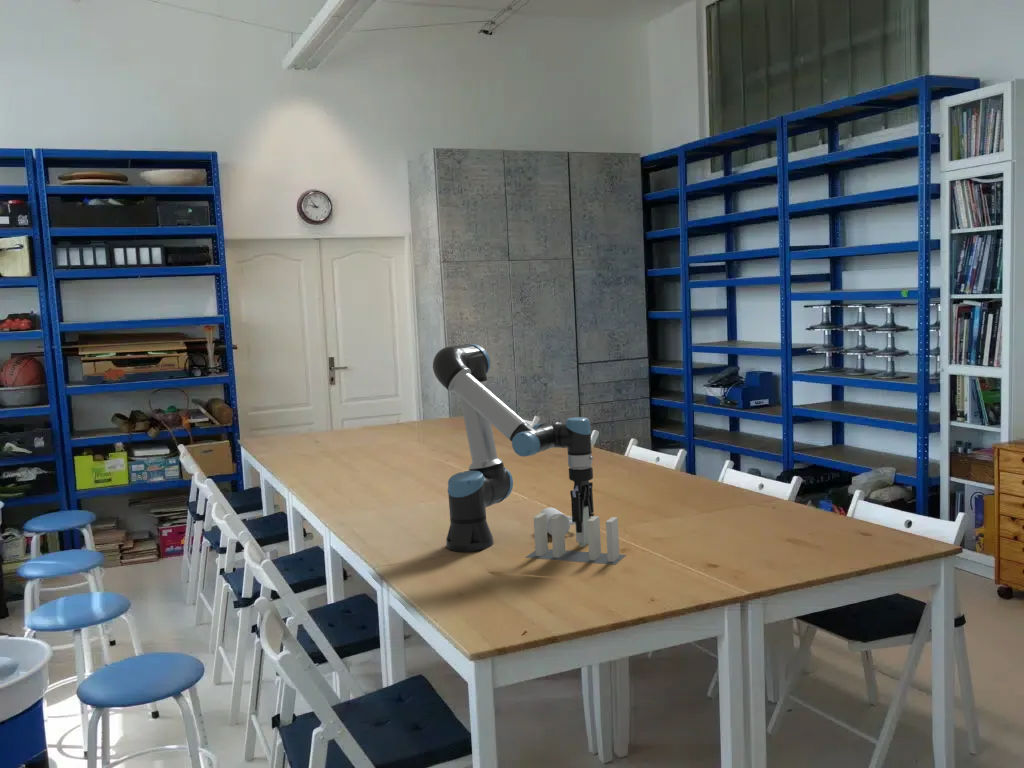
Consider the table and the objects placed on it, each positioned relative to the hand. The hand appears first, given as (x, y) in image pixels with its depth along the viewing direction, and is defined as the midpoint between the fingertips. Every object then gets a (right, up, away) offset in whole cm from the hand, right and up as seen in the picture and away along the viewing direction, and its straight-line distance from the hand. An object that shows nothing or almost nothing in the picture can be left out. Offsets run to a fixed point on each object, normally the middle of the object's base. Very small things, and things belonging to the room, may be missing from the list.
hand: (584, 539), depth 288 cm
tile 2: (-8, -3, -10) cm, 13 cm away
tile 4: (+2, -3, -15) cm, 16 cm away
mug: (-7, -1, +16) cm, 17 cm away
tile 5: (+7, -3, -18) cm, 19 cm away
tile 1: (-14, -3, -8) cm, 16 cm away
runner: (-4, -3, -12) cm, 13 cm away
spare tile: (0, -2, 0) cm, 2 cm away
